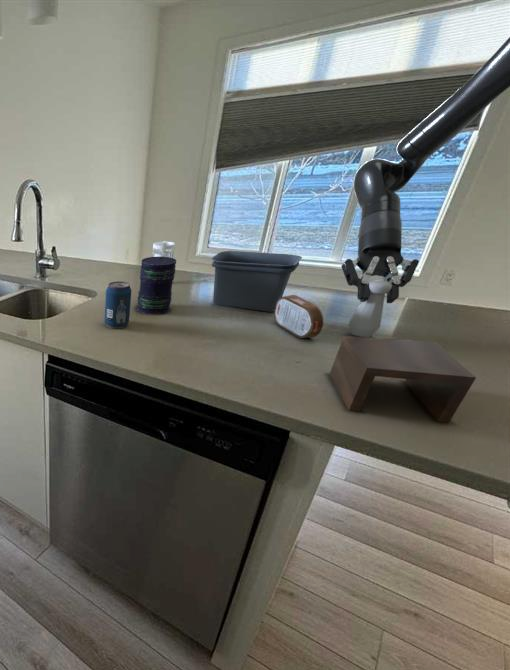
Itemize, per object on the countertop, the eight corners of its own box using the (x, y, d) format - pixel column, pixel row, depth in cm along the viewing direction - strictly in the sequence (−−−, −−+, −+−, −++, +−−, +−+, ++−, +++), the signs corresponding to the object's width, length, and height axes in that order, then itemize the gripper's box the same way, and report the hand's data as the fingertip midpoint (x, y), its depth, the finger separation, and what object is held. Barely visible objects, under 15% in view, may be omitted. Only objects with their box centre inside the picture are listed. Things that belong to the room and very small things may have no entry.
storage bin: (200, 305, 125) (208, 259, 117) (215, 291, 134) (224, 247, 127) (280, 317, 112) (295, 266, 105) (291, 301, 122) (305, 253, 115)
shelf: (414, 382, 80) (435, 341, 75) (449, 422, 69) (476, 377, 65) (329, 374, 85) (343, 335, 81) (348, 410, 74) (367, 367, 70)
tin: (318, 342, 98) (329, 309, 93) (305, 343, 98) (316, 311, 94) (280, 320, 111) (288, 290, 106) (268, 321, 111) (276, 291, 107)
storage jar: (166, 316, 120) (172, 265, 112) (132, 312, 125) (137, 263, 117) (173, 305, 127) (179, 257, 119) (141, 302, 132) (145, 255, 124)
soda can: (114, 318, 122) (117, 279, 116) (133, 324, 117) (137, 283, 111) (99, 325, 118) (100, 285, 112) (118, 331, 113) (121, 289, 107)
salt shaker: (371, 340, 95) (393, 287, 89) (342, 334, 100) (360, 282, 93) (379, 333, 98) (401, 280, 92) (351, 327, 102) (370, 276, 96)
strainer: (149, 285, 146) (153, 242, 138) (149, 279, 152) (153, 238, 144) (170, 285, 144) (175, 242, 136) (169, 279, 149) (174, 237, 142)
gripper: (349, 227, 95) (346, 292, 92) (428, 225, 90) (428, 295, 87) (336, 245, 102) (333, 306, 99) (408, 244, 97) (408, 309, 93)
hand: (377, 300), depth 93 cm, fingers closed on salt shaker, 4 cm apart
